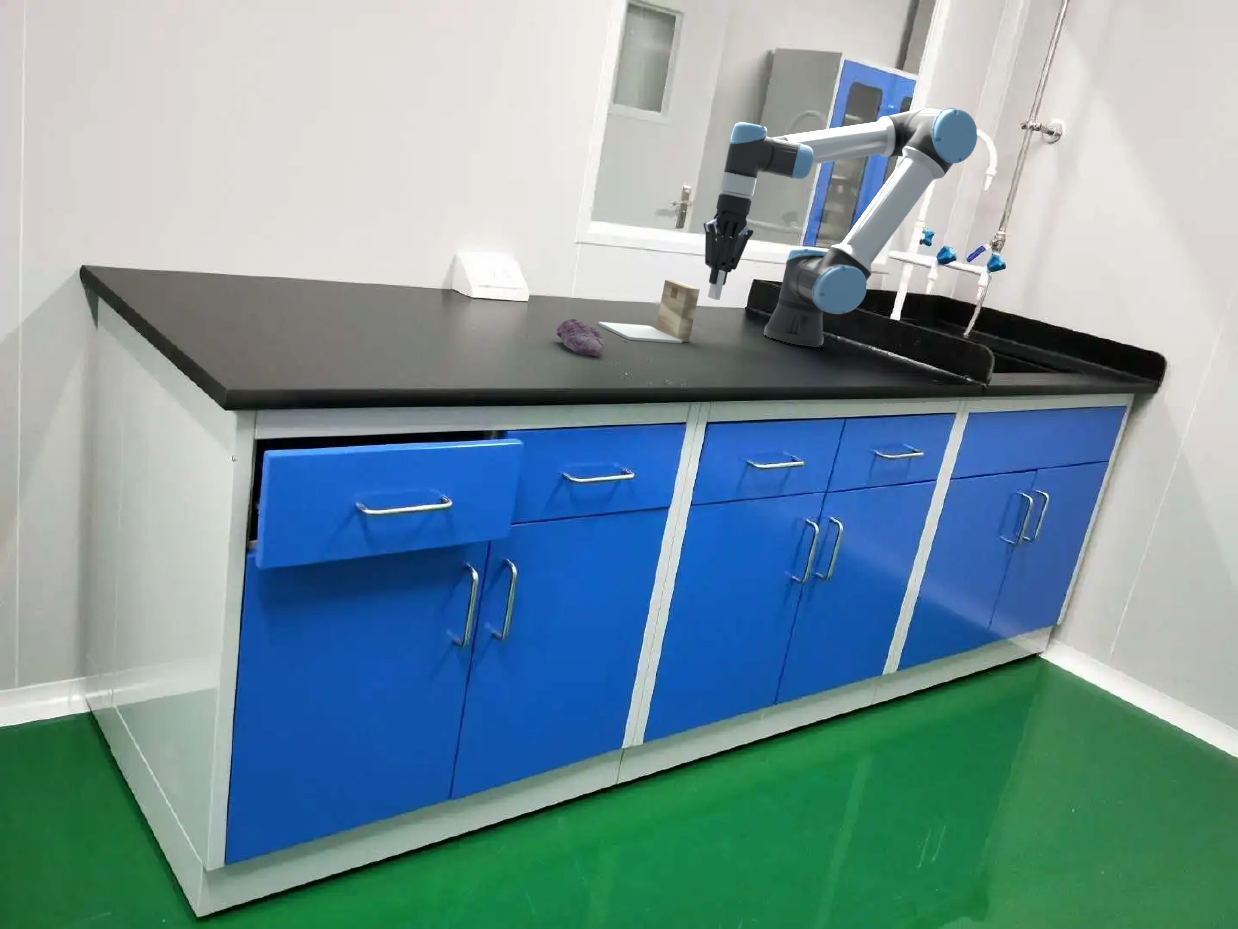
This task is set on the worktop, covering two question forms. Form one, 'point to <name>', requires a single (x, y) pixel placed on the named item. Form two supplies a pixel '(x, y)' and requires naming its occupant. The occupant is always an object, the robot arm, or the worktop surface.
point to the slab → (677, 309)
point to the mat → (639, 332)
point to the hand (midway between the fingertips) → (713, 298)
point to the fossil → (580, 338)
